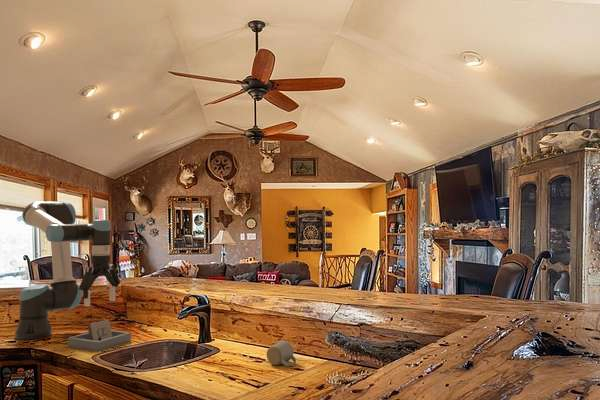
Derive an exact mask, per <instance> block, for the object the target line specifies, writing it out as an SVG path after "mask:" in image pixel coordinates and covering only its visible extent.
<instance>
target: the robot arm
mask: <svg viewBox="0 0 600 400" xmlns="http://www.w3.org/2000/svg"><path fill="white" fill-rule="evenodd" d="M21 214H22V219H23V221H24V222H25V223H26V224H27V225H29V226H31V227H36V228H38V229H39V230H40V231H42V232H44V233H45V238H46V240H47V241H48V242H50V249H51V250H50V251H51V262H52V264H51V265H52V278H53V280H51V282H50V283H49V285H50V286H49V285H48V284H47V283H43V284H42V283H40V284H34V285H30V286H26V287H24V288H22V289H21V290H20V293H19V321H18V324H17V327H16V329H15V331H14V339H15V340H19V341H20V340H21V341H24V340H26V341H28V340H29V341H30V340H36V339H38V340H39V339H43V338H47V337H50V336H51V335H52V334H53V333H52V331H53V329H52V327H51V324H50V321H49V318H48V317H49V316H48V315H49V312H55V311H61V310H70V309H73V308H76V307H78V306H79V305H80V303H81V300H82V298H83V299H84V302H83V306H84V307H91V290H90V289H91V287H92V286H93V284H94V282H95V281H96V279H97V278H99V277H105V279H106V280H107V281H108V283H109V284H110V286H109V302H116V293H117V287H119V285H120V284H121V281H120V278H119V276H118V272H117V271H116V265H115V264H112V263H111V234H112V233H111V232H112V225H111V220H109V219H94V220H93V221H92V223H76V219H77V214H76V209H75V207H74V205H73V204H72V203H70V202H67V201H33V202H31V203H29V204H27V206H25V208H24V209H23V211H22V213H21ZM80 241H81V242H85V241H87V242H88V241H89V242H90V241H91V254H92V255H91V264H92V266H86V268H85V273H84V274H83V277H82V280H81V282H80V284H79V283H77V279H76V278H74V277H73V264H72V253H71V242H80ZM110 263H111V264H110Z"/></svg>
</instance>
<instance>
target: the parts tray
mask: <svg viewBox="0 0 600 400" xmlns="http://www.w3.org/2000/svg"><path fill="white" fill-rule="evenodd" d="M111 331H112V337H111V338H108V339H104V340H101V341H93V340H90V336H89V331H87V332H85V333H81V334H77V335H73V336H70V337H67V348H69V347H70V348H71V349H77V350H82V349H83V350H82V351H89V352H93V353H94V352H95V353H100V352H102V351H103V352H104V351H106V350H109V349H112V348H116V347H118V346H121V345H124V344H129V343H132V332H128V331H121V330H113V329H111ZM91 333H92V332H91ZM91 335H92V334H91Z"/></svg>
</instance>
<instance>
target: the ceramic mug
mask: <svg viewBox="0 0 600 400" xmlns="http://www.w3.org/2000/svg"><path fill="white" fill-rule="evenodd" d="M266 358H267V360H268V362H269V363H270V364H271V365H273V366H279V365H284V366H285V367H289V366H292V367H294V366H296V363H297V359H296V357H295V355H294V348H293V345H292V344H291V343H290V342H289V341H287V340H281V341H278V342H276V343H275V344H273V345H271V346H270V347H269V348H268V349H267V351H266ZM289 361H292V362H289ZM293 365H294V366H293Z"/></svg>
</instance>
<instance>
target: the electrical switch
mask: <svg viewBox="0 0 600 400" xmlns="http://www.w3.org/2000/svg"><path fill="white" fill-rule="evenodd" d="M111 326H112V325H111V322H110V320H109V319H105V320H100V321H97V322H92V323H91V322H90V325H87V328H88V329H87V330H88V332H89V336H90V340H93V341H101V340H104V339H108V338H111V337H112V331H111V330H112V327H111ZM91 332H92V333H91ZM91 334H92V335H91Z"/></svg>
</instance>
